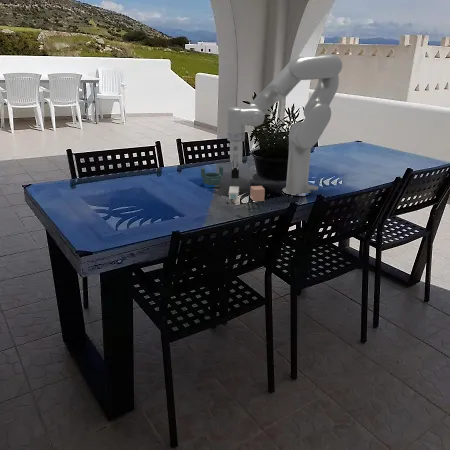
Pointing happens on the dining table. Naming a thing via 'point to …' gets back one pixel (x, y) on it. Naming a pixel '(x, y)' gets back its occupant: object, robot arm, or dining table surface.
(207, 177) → the green basket
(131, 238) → the dining table surface
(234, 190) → the cream block
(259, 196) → the terracotta block
